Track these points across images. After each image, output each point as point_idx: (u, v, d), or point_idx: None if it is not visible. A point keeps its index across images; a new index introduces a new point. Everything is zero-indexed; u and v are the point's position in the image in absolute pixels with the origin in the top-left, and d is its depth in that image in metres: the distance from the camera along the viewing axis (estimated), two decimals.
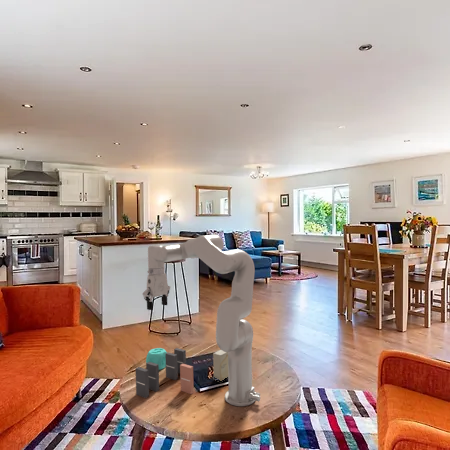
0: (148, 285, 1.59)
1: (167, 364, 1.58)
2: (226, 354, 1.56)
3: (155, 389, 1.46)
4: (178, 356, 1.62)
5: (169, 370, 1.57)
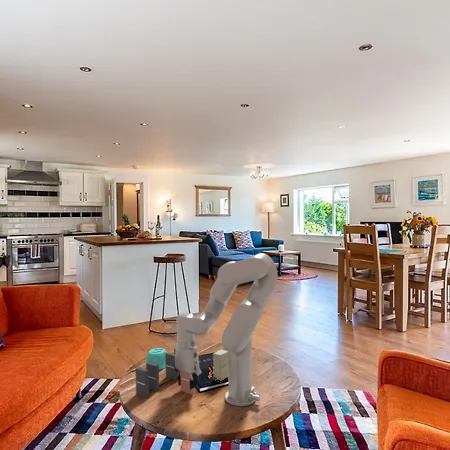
0: (194, 360, 1.42)
1: (167, 364, 1.58)
2: (226, 354, 1.56)
3: (155, 389, 1.46)
4: None
5: (169, 370, 1.57)
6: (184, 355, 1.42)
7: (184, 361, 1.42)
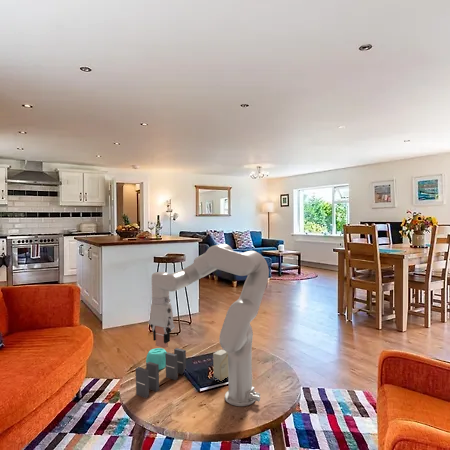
0: (168, 315, 1.49)
1: (167, 364, 1.58)
2: (226, 354, 1.56)
3: (155, 389, 1.46)
4: (178, 356, 1.62)
5: (169, 370, 1.57)
6: (158, 310, 1.49)
7: (158, 317, 1.49)
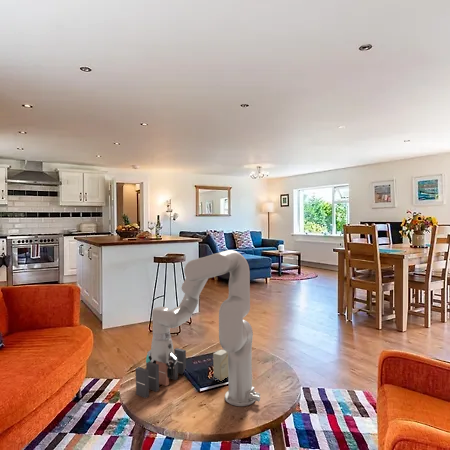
0: (169, 351, 1.49)
1: None
2: (226, 354, 1.56)
3: (155, 389, 1.46)
4: (178, 356, 1.62)
5: None
6: (159, 346, 1.50)
7: (159, 352, 1.50)
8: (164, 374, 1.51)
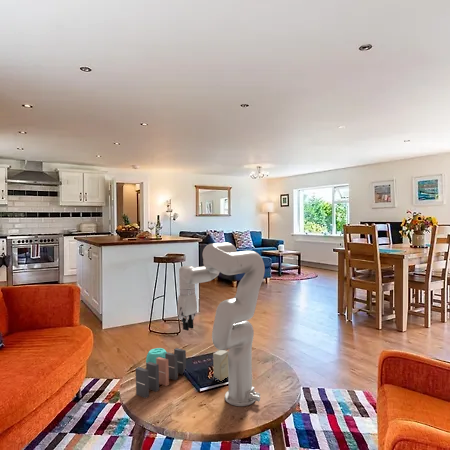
0: None
1: None
2: (226, 354, 1.56)
3: (155, 389, 1.46)
4: (178, 356, 1.62)
5: (169, 370, 1.57)
6: (192, 299, 1.67)
7: (192, 305, 1.67)
8: (164, 374, 1.51)
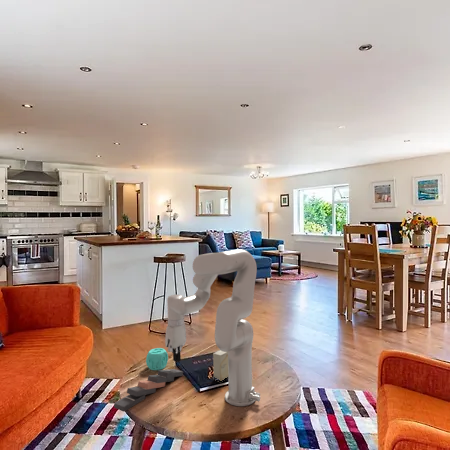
0: None
1: None
2: (226, 354, 1.56)
3: None
4: None
5: None
6: (181, 330, 1.60)
7: (181, 336, 1.60)
8: None
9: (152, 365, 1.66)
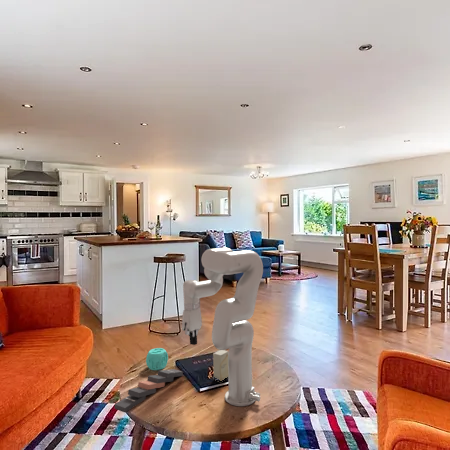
0: None
1: None
2: (226, 354, 1.56)
3: (153, 392, 1.44)
4: None
5: None
6: (197, 314, 1.66)
7: (197, 320, 1.66)
8: None
9: (152, 365, 1.66)
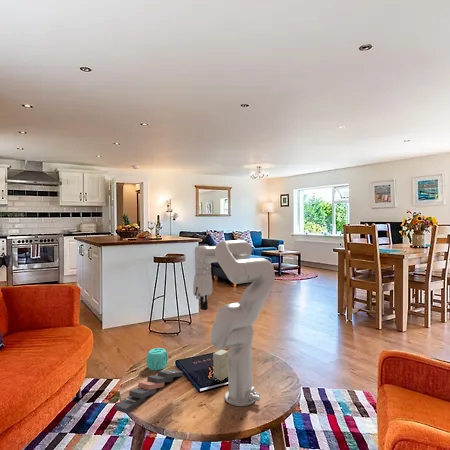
0: None
1: None
2: (226, 354, 1.56)
3: (154, 392, 1.44)
4: None
5: None
6: (208, 279, 1.64)
7: (208, 285, 1.64)
8: None
9: (152, 365, 1.66)
